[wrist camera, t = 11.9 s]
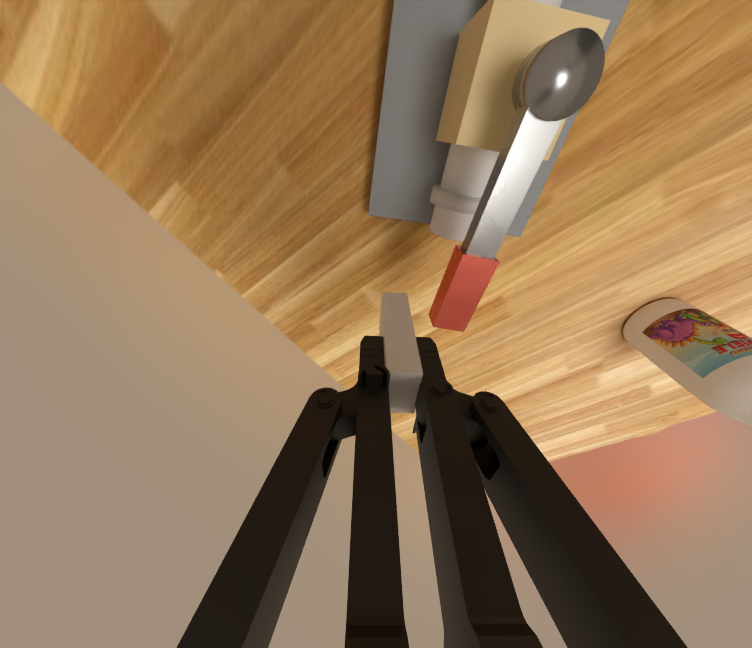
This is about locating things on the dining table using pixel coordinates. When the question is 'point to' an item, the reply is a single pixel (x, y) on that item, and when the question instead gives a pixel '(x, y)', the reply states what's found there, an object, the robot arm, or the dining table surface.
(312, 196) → the dining table surface
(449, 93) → the pipe valve base
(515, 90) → the valve lever
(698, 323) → the milk bottle
